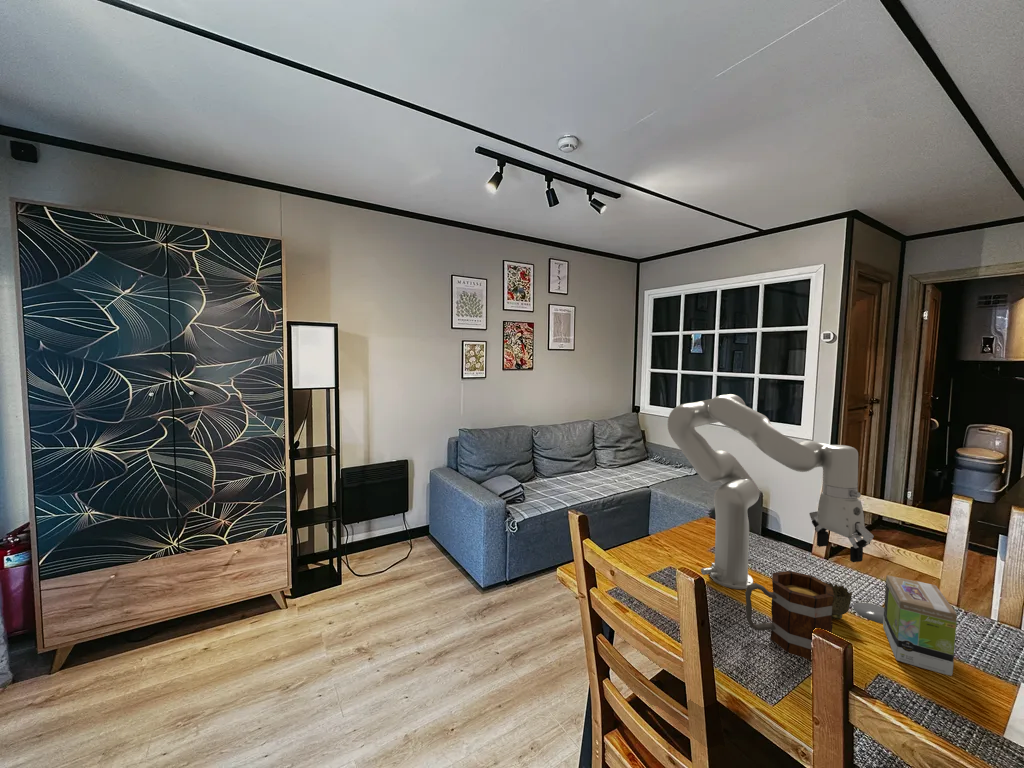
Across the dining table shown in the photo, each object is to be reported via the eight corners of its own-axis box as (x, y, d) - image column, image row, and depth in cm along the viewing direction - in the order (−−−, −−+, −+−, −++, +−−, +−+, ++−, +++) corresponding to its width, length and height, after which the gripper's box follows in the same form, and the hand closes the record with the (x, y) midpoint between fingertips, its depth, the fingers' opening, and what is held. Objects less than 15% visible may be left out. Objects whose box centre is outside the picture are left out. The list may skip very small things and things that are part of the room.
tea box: (955, 678, 94) (958, 614, 93) (895, 661, 100) (898, 600, 99) (933, 640, 107) (937, 583, 106) (881, 627, 112) (884, 572, 111)
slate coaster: (879, 628, 112) (880, 626, 112) (843, 606, 122) (843, 604, 122) (910, 623, 114) (910, 621, 114) (872, 602, 124) (872, 600, 124)
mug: (815, 628, 112) (817, 572, 111) (846, 664, 99) (848, 601, 98) (735, 620, 115) (736, 566, 114) (754, 654, 102) (756, 594, 101)
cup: (857, 626, 112) (858, 597, 112) (825, 623, 114) (826, 594, 113) (841, 610, 120) (842, 582, 119) (812, 607, 121) (813, 580, 121)
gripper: (884, 500, 107) (883, 566, 108) (822, 481, 124) (821, 539, 125) (860, 502, 105) (858, 569, 106) (800, 483, 122) (799, 541, 123)
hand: (838, 553), depth 115 cm, fingers open, 9 cm apart
